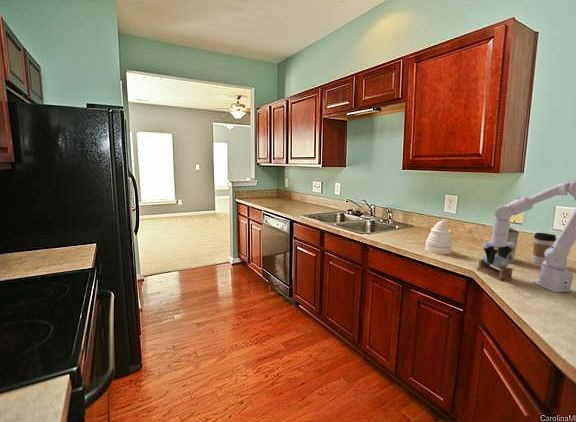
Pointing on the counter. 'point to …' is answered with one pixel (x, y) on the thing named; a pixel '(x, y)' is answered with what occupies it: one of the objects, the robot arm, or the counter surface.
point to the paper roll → (497, 261)
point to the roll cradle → (495, 271)
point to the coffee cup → (542, 246)
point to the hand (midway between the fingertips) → (495, 262)
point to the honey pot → (439, 239)
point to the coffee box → (512, 238)
